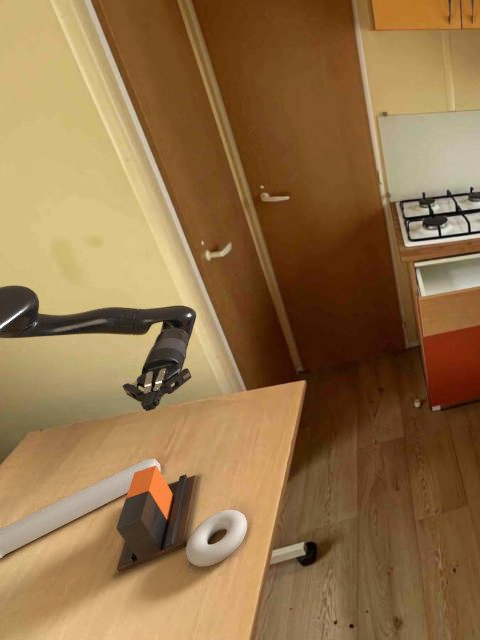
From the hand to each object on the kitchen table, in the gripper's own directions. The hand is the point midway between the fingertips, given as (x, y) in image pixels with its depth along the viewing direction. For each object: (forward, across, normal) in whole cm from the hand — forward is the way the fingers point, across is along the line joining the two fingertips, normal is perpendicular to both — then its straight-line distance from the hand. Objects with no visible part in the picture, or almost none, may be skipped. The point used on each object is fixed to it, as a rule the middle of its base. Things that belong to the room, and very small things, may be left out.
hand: (149, 407), depth 91 cm
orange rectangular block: (+15, 0, +16) cm, 22 cm away
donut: (+26, +11, +17) cm, 33 cm away
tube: (+6, -14, +17) cm, 23 cm away
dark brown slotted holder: (+16, 0, +17) cm, 23 cm away
